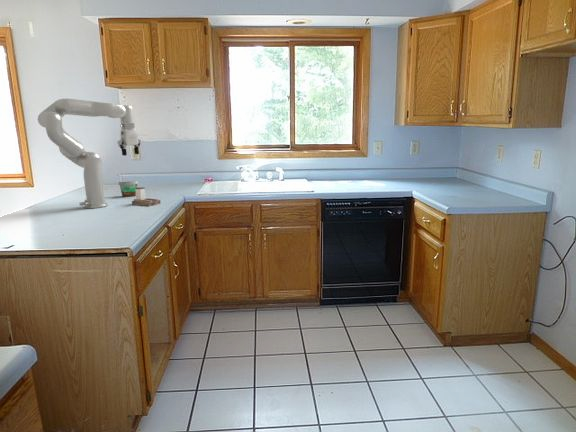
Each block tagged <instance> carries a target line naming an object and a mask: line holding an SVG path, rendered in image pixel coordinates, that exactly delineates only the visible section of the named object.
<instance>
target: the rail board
mask: <svg viewBox="0 0 576 432" xmlns="http://www.w3.org/2000/svg"><path fill="white" fill-rule="evenodd" d="M131 204H132V205H135V206H142V207H145V206H146V207H152V206H155V205H160V204H162V203H161V199H159V198H150V197H148V198H147V197H146V199H145V200H139V199H136V198H133V200H132V201H131Z"/></svg>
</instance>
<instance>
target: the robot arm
mask: <svg viewBox="0 0 576 432" xmlns="http://www.w3.org/2000/svg"><path fill="white" fill-rule="evenodd" d="M66 115H70V116H71V115H72V116H78V117H79V116H81V117H108V118H110V119H120V125H119V126H120V139H119V140H118V141H117V142H116V143H117V144H118V147H119V148H120V149H121V155H122V156H125V157H126V156H127V155H128V154H127V146H133V150H134V152H133V153H134V155H140V151H139V148H140V146H141V141H142V140H141V139H139V136H138V131H137V129H136V128H135V120H134V119H135V117H134V110H133V106H132V105H122V104H119V103H110V102H100V101H92V100H83V99H77V98H75V99H74V98H67V97H65V98H59V99H57V100H55V101H54V102H52V103H51V104H50V105H49V106H47V107H46V108H45V109H44V110H43V111H41V112H40V113H39V114H38V115H37V122H38V125H40V126H41V127H42V128H45V132H46V134H47V138H48V139H49V141H51V142H52V143H53V144H54V145H56V146H57V148H58V149H59V152H60V154H61V155H62V156H64V157H65V158H66V159H67V160H69V161H71V162H72V163H73V164H74V165H76V166H78V167H80V168H83V181H84V189H85V196H86V197H85V198H86V199H84V201H81V202H79V206H81V207H82V206H84V208H86V209H99V208H105V207H107V206H109V203H108V202H106V201H105V192H104V183H103V175H102V166H103V163H102V158H101V156H100V155H99V154H98V153H96V152H94V151H86V150H85V147H84V146H83V144H82V143H81V142H80V141H78V140H77V139H76V138H74V137H73V136H71V135H70V134H69V133H68V132H66V131H65V129H64V127H63V119H62V118H64V116H66Z"/></svg>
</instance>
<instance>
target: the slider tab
mask: <svg viewBox="0 0 576 432" xmlns="http://www.w3.org/2000/svg"><path fill="white" fill-rule="evenodd" d="M145 189H146V187H144V186H137V188H135V191H136V196H135V199H139V200H145V199H146V198H147V197H146V190H145Z"/></svg>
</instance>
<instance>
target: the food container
mask: <svg viewBox="0 0 576 432" xmlns="http://www.w3.org/2000/svg"><path fill="white" fill-rule="evenodd" d="M138 185H139V182H138V180H135V181H134V180H133V181H118V186H119V187H120V193H121V196H122V197H123V198H131V197H132V198H133V197H136V191H135V188H137V187H138Z"/></svg>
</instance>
